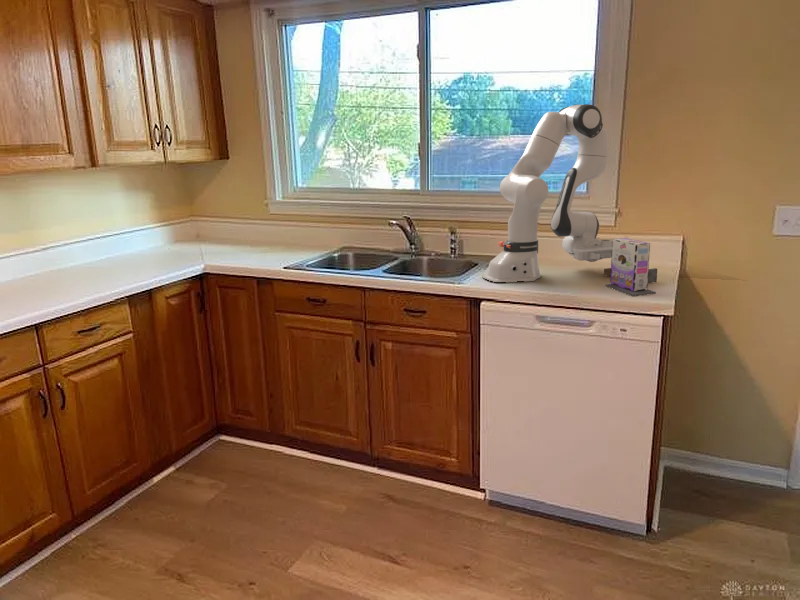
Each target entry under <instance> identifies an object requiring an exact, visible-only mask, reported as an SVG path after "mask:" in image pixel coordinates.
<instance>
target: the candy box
mask: <svg viewBox="0 0 800 600" xmlns="http://www.w3.org/2000/svg"><path fill="white" fill-rule="evenodd" d="M611 240H612V256H611V258H610V259H611V260H610V268H611V277H610V283H609V284H613V285H616V286H619V287H622V288H625V289H628V290H630V291H643V290H647V289H648V286H649V285H648V284H649V283H648V269H650V268H649V265H650V253H651V250H650V249H651V242H650V243H649V242H646V241H641V240H636V239H632V238H629V237H628V238H627V237H620V238H612V239H611Z"/></svg>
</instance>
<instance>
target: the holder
mask: <svg viewBox="0 0 800 600" xmlns="http://www.w3.org/2000/svg"><path fill="white" fill-rule="evenodd" d="M603 275H604V276H605V275H606V277H608V276H609V277H608V278H611V267H607V268H603ZM657 278H658V268H657V267H656V268H649V269H648V284H653V283H652V282H655V283H658V281H657V280H658V279H657Z"/></svg>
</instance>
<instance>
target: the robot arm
mask: <svg viewBox="0 0 800 600" xmlns="http://www.w3.org/2000/svg"><path fill="white" fill-rule="evenodd" d="M603 126H604V124H603V117H602V112H601V110H600V109H599V108H598V107H597V106H595V105H593V104H589V103H588V104H587V103H584V104H573V105H570V106H565V107H563V108H562V109H560V110H559V111H548V112H545V113H544V114H543V116H542V117H541V119H540V120H539V121H538V123H537V125H536V126H535V128H534V130H533V132H532V134H531V136H530V139H529V141H528V143H527V145H526V147H525V150H524V152H523V154H522V155H521V157H520V158H519V159H518V161H517V162H516V163H515V165H514V167H513V168H512V170H511V171H510V172H509V173H508V174H507V175H506V176H505V177H504V178H502V180H501V182H500V183H499V184H500V185H499V193H500V195H501V196H502V197H503V199H506V201H509V202H510V203H513V209H512V212H511V215H510V217H509V218H508V220H507V240H506V241H505V242H504V241H502V240H501V241H499V243H498V245H499V247H502V248H503V249H502V251H501V252H499V254H497V255H496V256H495V257H494V258H493V259H491V260H490V261H489V265H488V270H487V272H484V273H483V274H482V275H481V276H482V277H483V278H485V279H487V280H489V281H488V282H490V281H493V282H492V283H494V282H506V283H518V282H517V281H524V282H535V281H536V280H537V279H539V278H541V276H542V274H541V273H540V267H539V259H538V258H539V257H538V254H539V240H538V227H539V226H538V225H539V224H538V222H539V218H540V217H539V216H540V213H541V209H542V206H543V204H544V202H545V201H546V199H547V198H548V195H549V186H548V184H547V182H546V181H545V180H544V179H543V178H540V177H541V176H542V174H543V173H544V172H545V171H547V170H548V169H549V168H550V167H551V165H552V163H553V161H554V159H555V157H556V155H557V152H558V150H559V148H560V146H561V144H562V140H563V139H564V138H565V136H576V138H577V140H578V150H577V156H576V157H577V158H576V160H575V162H574V164H573V166H572V168H570V169H568V171H567V173H566V175H565V177H564V180H563V182H562V186H561V190H560V193H559V196H558V200H557V203H556V207H555V210H554V212H553V214H552V217H551V220H550V223H549V224H550V229H551V230H552V232H553V234H555V235H556V236H557V237H561V238H562V237H563V239H562V244H561V245H562V248H563V251H565V252H566V253H567V254H568V255H570V256H572V258H574V259H576V260H578V261H586V262H589V263H594V262H597V261H600V260H603V259H611V256H612V239H599V238H597V236H598V233H599V229H600V222H599V219H598V216H596V214H595V213H593V212H591V211H590V212H589V211H575V210H571V207H572V203H573V201H574V197H575V193H576V191H577V189H578V188H579V187H580V186H581V185H583V184H586V183H587V182H591V181H593V180H596V179H597V178H599V177H600V176H602V174H603V173H604V172H605V171H606V168H607V164H608V156H609V155H608V154H609V132H608V130H607V129H606V128H604V127H603ZM485 279H484V280H485ZM487 280H486V281H487Z"/></svg>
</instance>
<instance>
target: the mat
mask: <svg viewBox="0 0 800 600" xmlns="http://www.w3.org/2000/svg"><path fill="white" fill-rule="evenodd" d="M606 286H607V288H609V287H610V288H609V289H612V288H613V289H612V290H614V289H615V290H614V291H617V290H618V291H617V292H619V293H622V292H623V293H622V294H625V293H626V294H625V295H628V294H629V295H628V296H630V295H631V297H639V295H641V296H648V295H647V294H650V295H656V294H657V291H655V290H651V289H649V288H647V290H643V291H630V290H628V289H625V288H622V287H619V286H616V285H613V284H610V283H609V284H608V283H606V284H605V287H606Z"/></svg>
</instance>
